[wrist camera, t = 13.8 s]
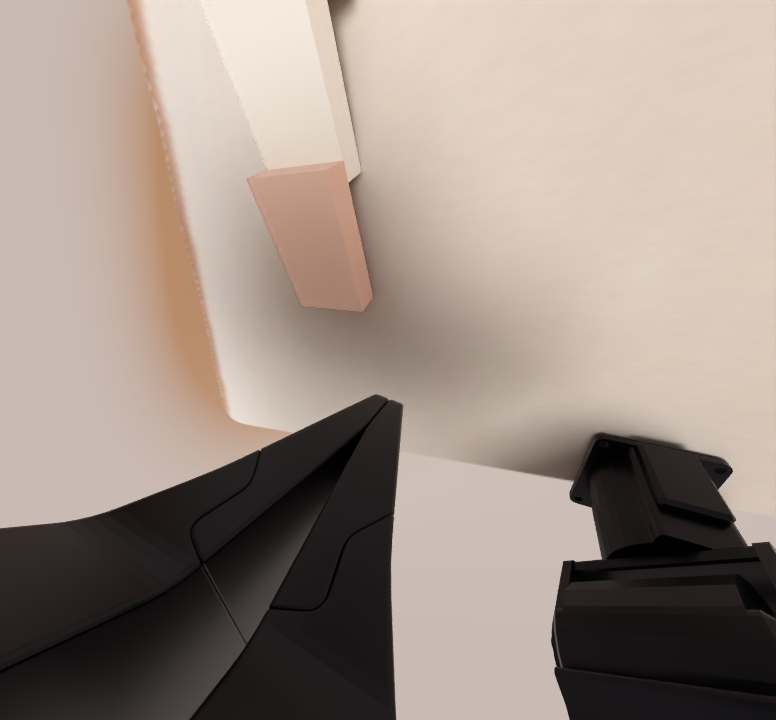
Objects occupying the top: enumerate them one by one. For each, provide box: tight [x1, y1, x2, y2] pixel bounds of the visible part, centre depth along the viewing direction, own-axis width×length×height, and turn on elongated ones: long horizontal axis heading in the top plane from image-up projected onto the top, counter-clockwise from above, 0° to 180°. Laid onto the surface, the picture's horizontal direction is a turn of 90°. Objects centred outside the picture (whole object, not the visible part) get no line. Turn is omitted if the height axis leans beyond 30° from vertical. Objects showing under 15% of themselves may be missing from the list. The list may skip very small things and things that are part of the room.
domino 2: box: [247, 161, 373, 312], centre depth 18 cm, size 2×5×8 cm
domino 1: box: [198, 0, 361, 183], centre depth 14 cm, size 2×5×8 cm
